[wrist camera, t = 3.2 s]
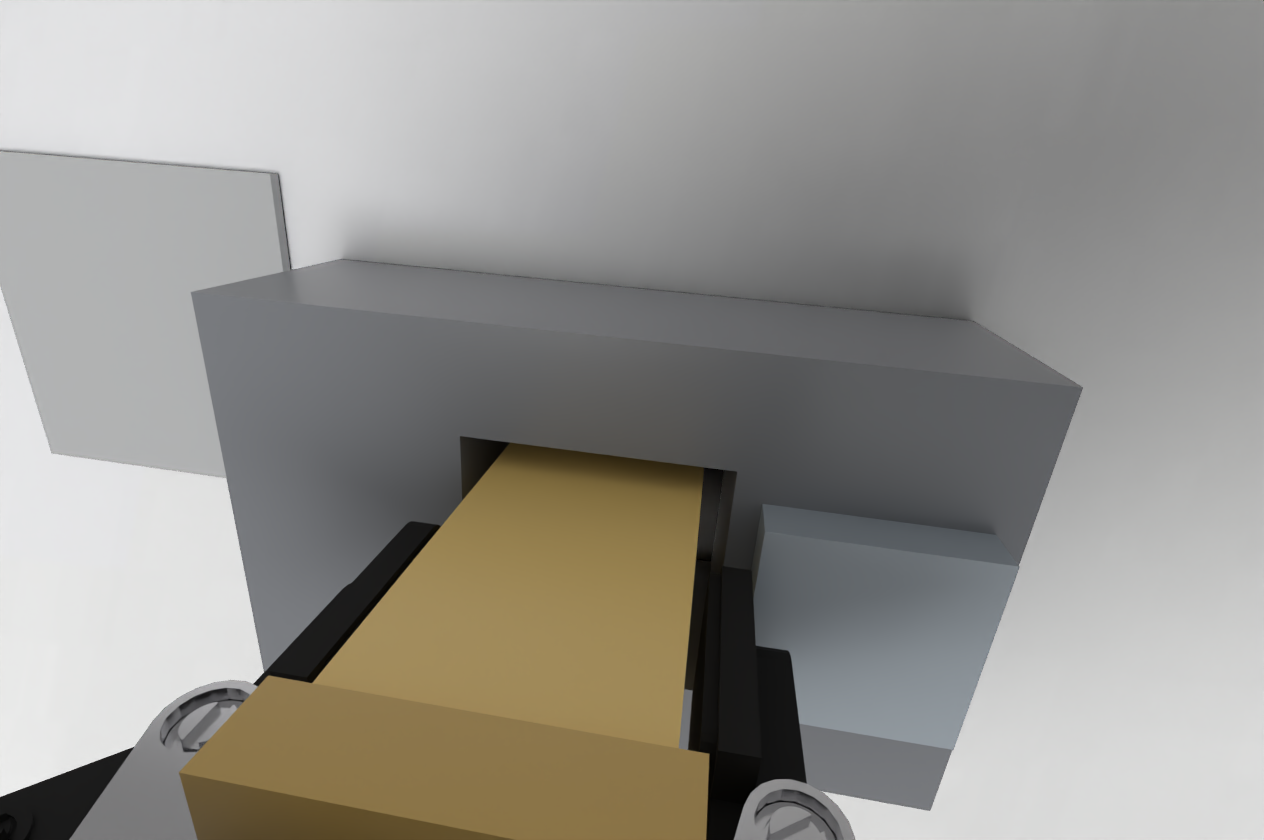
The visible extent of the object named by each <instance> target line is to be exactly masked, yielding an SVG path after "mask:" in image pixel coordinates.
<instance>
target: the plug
mask: <svg viewBox="0 0 1264 840" xmlns="http://www.w3.org/2000/svg"><path fill="white" fill-rule="evenodd" d="M703 476H704V467H697V466H690V465H682V464H674V463H666V462H658V461H651V460H643V459H635V458H627V457H619V456H611V455H604V454H596V453H588V452H580V451H572V450H565V449H557V448H549V447H541V446H533V445H526V444H518V443H510V444H509V445H508V446H507V447H506V448H505V450H504V451H503V452H502V453H501V454H500V456H499V457H498V458H497V459H496V461H495V462H494V463H493V464H492V465H491V467H490V468H489V469H488V470H487V471H486V473H485V474H484V475H483V476H482V478H481V479H480V480H479V481H478V482H477V484H476V485H475V486H474V487H473V488H472V490H471V491H470V492H469V493H468V495H467V496H466V497H465V498H464V499H463V501H462V502H461V503H460V504H459V505H458V507H457V508H456V509H455V510H454V512H453V513H452V514H451V515H450V516H449V518H448V519H447V520H446V521H445V522H444V524H443V525H442V526H441V527H440V529H439V530H438V531H437V532H436V533H435V535H434V536H433V537H432V538H431V539H430V541H429V542H428V543H427V544H426V546H425V547H424V548H423V549H422V550H421V552H420V553H419V554H418V555H417V556H416V558H415V559H414V560H413V561H412V563H411V564H410V565H409V566H408V567H407V569H406V570H405V571H404V572H403V573H402V575H401V576H400V577H399V578H398V580H397V581H396V582H395V583H394V584H393V586H392V587H391V588H390V589H389V590H388V592H387V593H386V594H385V595H384V597H383V598H382V599H381V600H380V601H379V603H378V604H377V605H376V606H375V607H374V609H373V610H372V611H371V612H370V614H369V615H368V616H367V617H366V618H365V620H364V621H363V622H362V623H361V624H360V626H359V627H358V628H357V629H356V631H355V632H354V633H353V634H352V635H351V637H350V638H349V639H348V640H347V641H346V643H345V644H344V645H343V646H342V648H341V649H340V650H339V651H338V652H337V654H336V655H335V656H334V657H333V658H332V660H331V661H330V662H329V663H328V665H327V666H326V667H325V668H324V669H323V671H322V672H321V673H320V674H319V675H318V677H317V678H316V679H315V680H314V682H313V683H308V682H302V681H297V680H291V679H285V678H280V677H274V676H267V677H266V679H265V680H264V681H263V682H262V683H261V684H260V685H259V686H258V687H257V688H256V689H255V690H254V692H253V693H252V694H251V695H250V696H249V697H248V698H247V699H246V700H245V701H244V702H243V703H242V705H241V706H240V707H239V708H238V709H237V710H236V711H235V712H234V713H233V714H232V715H231V716H230V718H229V719H228V720H227V721H226V722H225V723H224V724H223V725H222V726H221V727H220V728H219V729H218V731H217V732H216V733H215V734H214V735H213V736H212V737H211V738H210V739H209V740H208V741H207V742H206V744H205V745H204V746H203V747H202V748H201V749H200V750H199V751H198V752H197V753H196V754H195V755H194V757H193V758H192V759H191V760H190V761H189V762H188V763H187V764H186V765H185V766H184V767H183V768H182V770H181V771H180V772H179V775H180V779H181V782H182V786H183V789H184V793H185V797H186V800H187V804H188V807H189V811H190V814H191V818H192V822H193V825H194V829H195V832H196V836H197V839H198V840H706V829H707V803H708V776H709V754H707V753H702V752H696V751H690V750H685V749H679V739H680V728H681V717H682V706H683V695H684V684H685V673H686V662H687V651H688V641H689V630H690V619H691V608H692V597H693V586H694V575H695V564H696V553H697V542H698V531H699V520H700V509H701V498H702V487H703Z"/></svg>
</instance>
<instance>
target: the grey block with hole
mask: <svg viewBox="0 0 1264 840" xmlns="http://www.w3.org/2000/svg"><path fill="white" fill-rule="evenodd" d="M191 296H192V302H193V307H194V312H195V317H196V322H197V327H198V333H199V338H200V343H201V348H202V353H203V358H204V364H205V369H206V374H207V379H208V384H209V390H210V395H211V400H212V405H213V410H214V415H215V421H216V426H217V431H218V436H219V441H220V446H221V452H222V457H223V462H224V467H225V472H226V477H227V483H228V488H229V493H230V498H231V503H232V508H233V514H234V519H235V524H236V529H237V534H238V539H239V545H240V550H241V555H242V560H243V565H244V571H245V576H246V581H247V586H248V591H249V596H250V602H251V607H252V612H253V617H254V622H255V627H256V633H257V638H258V643H259V648H260V653H261V658H262V664H263V669H264V672H265V671H266V670H267V669H268V668H269V667H270V666H271V665H272V664H273V663H274V661H275V660H276V659H277V658H278V657H279V656H280V655H281V654H282V653H283V652H284V651H285V650H286V649H287V648H288V647H289V645H290V644H291V643H292V642H293V641H294V640H295V639H296V638H297V637H298V636H299V635H300V634H301V633H302V632H303V631H304V629H305V628H306V627H307V626H308V625H309V624H310V623H311V622H312V621H313V620H314V619H315V618H316V617H317V616H318V615H319V613H320V612H321V611H322V610H323V609H324V608H325V607H326V606H327V605H328V604H329V603H330V602H331V601H332V600H333V599H334V597H335V596H336V595H337V594H338V593H339V592H340V591H341V590H342V589H343V588H344V587H346V586H347V585H348V584H350V583H352V582H353V581H354V580H355V579H356V578H357V577H358V576H359V574H360V573H361V572H362V571H363V570H364V569H365V568H366V567H367V566H368V565H369V564H370V563H371V562H372V560H373V559H374V558H375V557H376V556H377V555H378V554H379V553H380V552H381V551H382V550H383V549H384V548H385V546H386V545H387V544H388V543H389V542H390V541H391V540H392V539H393V538H394V537H395V536H396V535H397V534H398V532H399V531H400V530H401V529H402V528H403V527H404V526H405V525H406V524H407V523H408V522H410V521H416V522H423V523H430V524H436V525H440V526H442V525H443V524H444V522H445V521H446V520H447V519H448V518H449V516H450V515H451V514H452V513H453V512H454V510H455V509H456V508H457V507H458V505H459V504H460V503H461V502H462V501H463V499H464V498H465V497H466V496H467V495H468V493H469V492H470V491H471V490H472V488H473V487H474V486H475V485H476V484H477V482H478V481H479V480H480V479H481V478H482V476H483V475H484V474H485V473H486V471H487V470H488V469H489V468H490V467H491V465H492V464H493V463H494V462H495V461H496V459H497V458H498V457H499V456H500V454H501V453H502V452H503V451H504V450H505V448H506V447H507V446H508V445H509V444H510V443H518V444H526V445H533V446H541V447H549V448H557V449H565V450H572V451H580V452H588V453H596V454H604V455H611V456H619V457H627V458H635V459H643V460H651V461H658V462H666V463H674V464H682V465H690V466H697V467H705V468H713V469H721V470H724V474H723V481H722V488H721V495H720V502H719V509H718V516H717V524H716V531H715V538H714V545H713V552H712V559H711V562H708V561H701V560H696V564H695V575H694V586H693V597H692V608H691V619H690V630H689V641H688V651H687V662H686V673H685V684H684V695H683V706H682V717H681V728H680V739H679V749H685V750H688V742H689V729H690V715H691V702H692V692H693V684H694V677H695V670H696V662H697V655H698V648H699V641H700V634H701V627H702V620H703V613H704V605H705V598H706V591H707V584H708V577H709V572H712V573H719V574H720V571H721V567H722V566H726V567H733V568H740V569H747V570H751V571H752V583H753V602H754V621H755V640H756V646H762V647H768V648H775V649H781V650H787V651H789V652H790V655H791V660H792V668H793V676H794V684H795V692H796V700H797V708H798V716H799V724H800V732H801V740H802V748H803V756H804V764H805V772H806V780H807V784H809V785H810V786H812V787H814V788H816V789H818V790H819V791H823V792H829V793H835V794H840V795H846V796H851V797H857V798H862V799H868V800H873V801H879V802H884V803H890V804H895V805H901V806H906V807H912V808H917V809H923V810H928V811H930V810H931V807H932V804H933V802H934V799H935V796H936V793H937V791H938V788H939V785H940V782H941V779H942V777H943V774H944V771H945V768H946V766H947V763H948V760H949V757H950V754H951V752H952V750H953V749H954V747H955V744H956V741H957V738H958V736H959V733H960V730H961V727H962V725H963V722H964V719H965V716H966V713H967V711H968V708H969V705H970V702H971V700H972V697H973V694H974V691H975V689H976V686H977V683H978V680H979V678H980V675H981V672H982V669H983V666H984V664H985V661H986V658H987V655H988V653H989V650H990V647H991V644H992V642H993V639H994V636H995V633H996V631H997V628H998V625H999V622H1000V620H1001V617H1002V614H1003V611H1004V608H1005V606H1006V603H1007V600H1008V597H1009V595H1010V592H1011V589H1012V586H1013V584H1014V581H1015V578H1016V575H1017V573H1018V570H1019V563H1020V560H1021V558H1022V555H1023V552H1024V549H1025V547H1026V544H1027V541H1028V538H1029V536H1030V533H1031V530H1032V527H1033V524H1034V522H1035V519H1036V516H1037V513H1038V511H1039V508H1040V505H1041V502H1042V500H1043V497H1044V494H1045V491H1046V488H1047V486H1048V483H1049V480H1050V477H1051V475H1052V472H1053V469H1054V466H1055V464H1056V461H1057V458H1058V455H1059V452H1060V450H1061V447H1062V444H1063V441H1064V439H1065V436H1066V433H1067V430H1068V427H1069V425H1070V422H1071V419H1072V416H1073V414H1074V411H1075V408H1076V405H1077V403H1078V400H1079V397H1080V394H1081V391H1082V389H1083V387H1081V386H1080V385H1078V384H1076V383H1075V382H1073V381H1071V380H1070V379H1068V378H1067V377H1065V376H1063V375H1062V374H1060V373H1058V372H1057V371H1055V370H1053V369H1052V368H1050V367H1048V366H1047V365H1045V364H1043V363H1042V362H1040V361H1038V360H1037V359H1035V358H1034V357H1032V356H1030V355H1029V354H1027V353H1025V352H1024V351H1022V350H1020V349H1019V348H1017V347H1015V346H1014V345H1012V344H1010V343H1009V342H1007V341H1005V340H1004V339H1002V338H1001V337H999V336H997V335H996V334H994V333H992V332H991V331H989V330H987V329H986V328H984V327H982V326H981V325H979V324H977V323H976V322H974V321H967V320H957V319H947V318H936V317H926V316H916V315H906V314H896V313H885V312H875V311H865V310H855V309H844V308H834V307H824V306H814V305H804V304H793V303H783V302H773V301H763V300H752V299H742V298H732V297H722V296H712V295H701V294H691V293H681V292H671V291H661V290H650V289H640V288H630V287H620V286H609V285H599V284H589V283H579V282H569V281H558V280H548V279H538V278H528V277H517V276H507V275H497V274H487V273H477V272H466V271H456V270H446V269H436V268H426V267H415V266H405V265H395V264H385V263H374V262H364V261H354V260H344V259H340V260H335V261H330V262H326V263H321V264H317V265H312V266H308V267H303V268H298V269H294V270H289V271H285V272H280V273H275V274H271V275H266V276H262V277H257V278H252V279H248V280H243V281H239V282H234V283H230V284H225V285H220V286H216V287H211V288H207V289H202V290H197V291H193V292H191Z"/></svg>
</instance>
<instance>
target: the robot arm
mask: <svg viewBox="0 0 1264 840" xmlns="http://www.w3.org/2000/svg"><path fill="white" fill-rule="evenodd" d="M440 527H441V526H440V525H436V524H430V523H423V522H416V521H410V522H408V523H407V524H406V525H405V526H404V527H403V528H402V529H401V530H400V531H399V532H398V534H397V535H396V536H395V537H394V538H393V539H392V540H391V541H390V542H389V543H388V544H387V545H386V546H385V548H384V549H383V550H382V551H381V552H380V553H379V554H378V555H377V556H376V557H375V558H374V559H373V560H372V562H371V563H370V564H369V565H368V566H367V567H366V568H365V569H364V570H363V571H362V572H361V573H360V574H359V576H358V577H357V578H356V579H355V580H354V581H353V582H352V583H350V584H348V585H347V586H346V587H344V588H343V589H342V590H341V591H340V592H339V593H338V594H337V595H336V596H335V597H334V599H333V600H332V601H331V602H330V603H329V604H328V605H327V606H326V607H325V608H324V609H323V610H322V611H321V612H320V613H319V615H318V616H317V617H316V618H315V619H314V620H313V621H312V622H311V623H310V624H309V625H308V626H307V627H306V628H305V629H304V631H303V632H302V633H301V634H300V635H299V636H298V637H297V638H296V639H295V640H294V641H293V642H292V643H291V644H290V645H289V647H288V648H287V649H286V650H285V651H284V652H283V653H282V654H281V655H280V656H279V657H278V658H277V659H276V660H275V661H274V663H273V664H272V665H271V666H270V667H269V668H268V669H267V670H266V671H265V672H264V673H263V674H262V675H261V676H260V678H259V679H258V680H257V681H256V682H255V683H254V684H251V683H249V682H246V681H236V680H228V681H221V682H214V683H211V684H208V685H205V686H202V687H199V688H196V689H194V690H192V691H190V692H188V693H186V694H184V695H182V696H180V697H179V698H177V699H176V700H175V701H173V702H172V703H171V704H169V705H168V706H167V707H165V708H164V709H163V710H162V711H161V712H160V714H159V715H158V716H157V717H156V718H155V719H154V720H153V721H152V723H151V724H150V726H149V727H148V729H147V730H146V731H145V733H144V734H143V736H142V737H141V738H140V740H139V741H138V743H137V744H136V746H135V747H133V748H130V749H127V750H125V751H122V752H119V753H117V754H114V755H111V756H109V757H106V758H103V759H101V760H98V761H95V762H93V763H90V764H87V765H85V766H82V767H79V768H77V769H74V770H71V771H69V772H66V773H63V774H61V775H58V776H55V777H53V778H50V779H47V780H45V781H42V782H39V783H37V784H34V785H31V786H29V787H26V788H23V789H21V790H18V791H15V792H13V793H10V794H7V795H5V796H2V797H0V840H198V839H197V836H196V832H195V829H194V825H193V822H192V818H191V814H190V811H189V807H188V804H187V800H186V797H185V793H184V789H183V786H182V782H181V779H180V775H179V772H180V771H181V770H182V768H183V767H184V766H185V765H186V764H187V763H188V762H189V761H190V760H191V759H192V758H193V757H194V755H195V754H196V753H197V752H198V751H199V750H200V749H201V748H202V747H203V746H204V745H205V744H206V742H207V741H208V740H209V739H210V738H211V737H212V736H213V735H214V734H215V733H216V732H217V731H218V729H219V728H220V727H221V726H222V725H223V724H224V723H225V722H226V721H227V720H228V719H229V718H230V716H231V715H232V714H233V713H234V712H235V711H236V710H237V709H238V708H239V707H240V706H241V705H242V703H243V702H244V701H245V700H246V699H247V698H248V697H249V696H250V695H251V694H252V693H253V692H254V690H255V689H256V688H257V687H258V686H259V685H260V684H261V683H262V682H263V681H264V680H265V679H266V677H267V676H274V677H280V678H285V679H291V680H297V681H302V682H308V683H313V682H314V680H315V679H316V678H317V677H318V675H319V674H320V673H321V672H322V671H323V669H324V668H325V667H326V666H327V665H328V663H329V662H330V661H331V660H332V658H333V657H334V656H335V655H336V654H337V652H338V651H339V650H340V649H341V648H342V646H343V645H344V644H345V643H346V641H347V640H348V639H349V638H350V637H351V635H352V634H353V633H354V632H355V631H356V629H357V628H358V627H359V626H360V624H361V623H362V622H363V621H364V620H365V618H366V617H367V616H368V615H369V614H370V612H371V611H372V610H373V609H374V607H375V606H376V605H377V604H378V603H379V601H380V600H381V599H382V598H383V597H384V595H385V594H386V593H387V592H388V590H389V589H390V588H391V587H392V586H393V584H394V583H395V582H396V581H397V580H398V578H399V577H400V576H401V575H402V573H403V572H404V571H405V570H406V569H407V567H408V566H409V565H410V564H411V563H412V561H413V560H414V559H415V558H416V556H417V555H418V554H419V553H420V552H421V550H422V549H423V548H424V547H425V546H426V544H427V543H428V542H429V541H430V539H431V538H432V537H433V536H434V535H435V533H436V532H437V531H438V530H439V529H440ZM688 750H690V751H696V752H702V753H707V754H709V776H708V803H707V829H706V840H855V836H854V834H853V831H852V828H851V826H850V823H849V821H848V819H847V818H846V817H845V815H844V814H843V812H842V811H841V809H840V808H839V807H838V805H837V804H835V803H834V802H833V801H832V800H831V799H830V798H829V797H828V796H827V795H825V794H824V793H823V792H821V791H819V790H818V789H816V788H814V787H812V786H810V785H809V784H807V780H806V772H805V764H804V756H803V748H802V740H801V732H800V724H799V716H798V708H797V700H796V692H795V684H794V676H793V668H792V660H791V655H790V652H789V651H787V650H781V649H775V648H768V647H762V646H756V640H755V621H754V602H753V583H752V571H751V570H747V569H740V568H733V567H726V566H722V567H721V571H720V574H719V573H712V572H709V577H708V584H707V591H706V598H705V605H704V613H703V620H702V627H701V634H700V641H699V648H698V655H697V662H696V670H695V677H694V684H693V692H692V702H691V715H690V729H689V742H688Z"/></svg>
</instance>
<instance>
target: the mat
mask: <svg viewBox="0 0 1264 840" xmlns="http://www.w3.org/2000/svg"><path fill="white" fill-rule="evenodd" d="M289 270H290V262H289V255H288V247H287V240H286V232H285V224H284V217H283V209H282V202H281V194H280V187H279V179H278V174H273V173H261V172H249V171H237V170H225V169H213V168H201V167H189V166H177V165H165V164H153V163H141V162H129V161H116V160H104V159H92V158H80V157H68V156H56V155H44V154H32V153H20V152H8V151H0V286H1V290H2V293H3V296H4V299H5V303H6V306H7V309H8V313H9V316H10V319H11V322H12V326H13V329H14V332H15V335H16V339H17V342H18V345H19V348H20V352H21V355H22V358H23V362H24V365H25V368H26V371H27V375H28V378H29V381H30V384H31V388H32V391H33V394H34V397H35V401H36V404H37V407H38V411H39V414H40V417H41V420H42V424H43V427H44V430H45V433H46V437H47V440H48V443H49V446H50V450H51V453H53V454H60V455H67V456H74V457H81V458H88V459H95V460H102V461H109V462H116V463H123V464H130V465H137V466H145V467H152V468H159V469H166V470H173V471H180V472H187V473H194V474H201V475H208V476H215V477H222V478H227V477H226V472H225V467H224V462H223V457H222V452H221V446H220V441H219V436H218V431H217V426H216V421H215V415H214V410H213V405H212V400H211V395H210V390H209V384H208V379H207V374H206V369H205V364H204V358H203V353H202V348H201V343H200V338H199V333H198V327H197V322H196V317H195V312H194V307H193V302H192V296H191V292H193V291H197V290H202V289H207V288H211V287H216V286H220V285H225V284H230V283H234V282H239V281H243V280H248V279H252V278H257V277H262V276H266V275H271V274H275V273H280V272H285V271H289Z"/></svg>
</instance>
